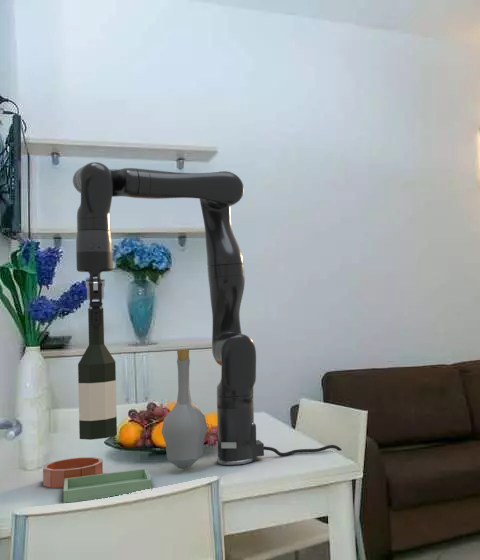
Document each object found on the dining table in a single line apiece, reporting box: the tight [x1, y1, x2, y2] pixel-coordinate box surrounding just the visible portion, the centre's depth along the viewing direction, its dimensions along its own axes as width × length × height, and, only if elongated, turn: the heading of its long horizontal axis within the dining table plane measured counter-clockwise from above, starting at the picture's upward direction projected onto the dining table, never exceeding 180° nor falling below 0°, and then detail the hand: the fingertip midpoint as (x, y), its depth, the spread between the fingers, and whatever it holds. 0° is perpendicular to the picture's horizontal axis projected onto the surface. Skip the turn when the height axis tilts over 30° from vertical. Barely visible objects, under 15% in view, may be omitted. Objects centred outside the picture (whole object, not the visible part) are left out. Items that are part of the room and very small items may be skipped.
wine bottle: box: [77, 307, 118, 441], centre depth 155 cm, size 8×8×30 cm
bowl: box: [42, 456, 104, 489], centre depth 162 cm, size 13×13×4 cm
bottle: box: [160, 348, 208, 471], centre depth 169 cm, size 11×11×30 cm
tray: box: [62, 467, 152, 504], centre depth 152 cm, size 17×11×3 cm, turn 116°
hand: (96, 325), depth 156 cm, fingers closed on wine bottle, 3 cm apart
